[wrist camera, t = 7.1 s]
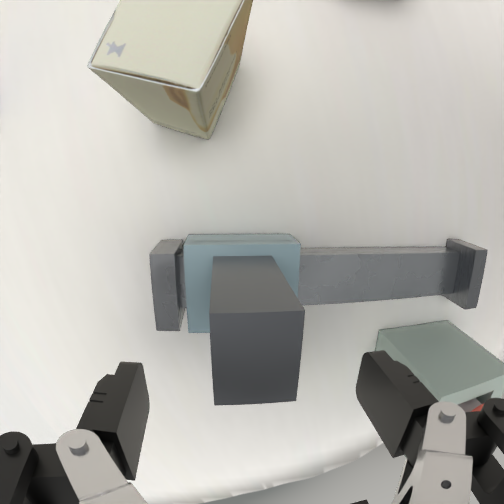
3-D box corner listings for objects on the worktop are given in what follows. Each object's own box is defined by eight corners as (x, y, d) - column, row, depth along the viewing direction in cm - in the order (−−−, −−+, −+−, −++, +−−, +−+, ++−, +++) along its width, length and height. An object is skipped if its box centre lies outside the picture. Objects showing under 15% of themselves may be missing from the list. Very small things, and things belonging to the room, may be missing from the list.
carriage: (289, 233, 23) (350, 290, 12) (286, 310, 24) (331, 407, 13) (188, 234, 22) (159, 295, 11) (192, 312, 23) (175, 416, 12)
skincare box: (210, 141, 21) (198, 105, 9) (151, 123, 20) (79, 76, 8) (242, 60, 19) (267, -40, 8) (185, 43, 19) (158, -61, 7)
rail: (458, 239, 24) (487, 249, 21) (450, 291, 26) (476, 307, 22) (161, 240, 22) (149, 254, 18) (165, 305, 23) (156, 330, 19)
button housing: (447, 320, 26) (513, 370, 17) (429, 380, 28) (480, 437, 19) (379, 329, 26) (441, 397, 16) (365, 394, 27) (409, 466, 18)
